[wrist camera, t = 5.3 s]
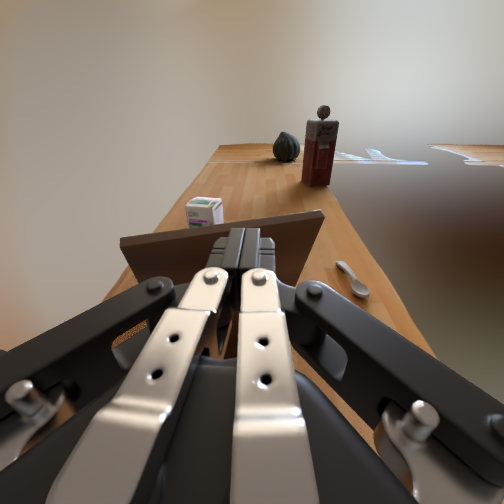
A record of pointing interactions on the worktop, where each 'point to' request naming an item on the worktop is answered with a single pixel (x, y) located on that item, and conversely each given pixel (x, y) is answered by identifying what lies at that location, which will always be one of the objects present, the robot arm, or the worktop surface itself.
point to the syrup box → (204, 212)
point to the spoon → (354, 281)
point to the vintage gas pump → (319, 149)
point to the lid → (202, 241)
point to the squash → (286, 147)
